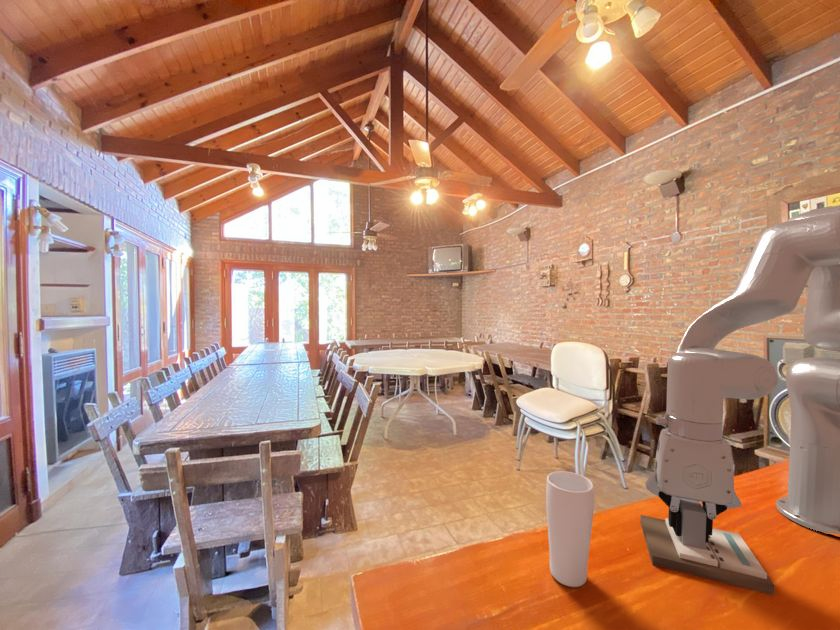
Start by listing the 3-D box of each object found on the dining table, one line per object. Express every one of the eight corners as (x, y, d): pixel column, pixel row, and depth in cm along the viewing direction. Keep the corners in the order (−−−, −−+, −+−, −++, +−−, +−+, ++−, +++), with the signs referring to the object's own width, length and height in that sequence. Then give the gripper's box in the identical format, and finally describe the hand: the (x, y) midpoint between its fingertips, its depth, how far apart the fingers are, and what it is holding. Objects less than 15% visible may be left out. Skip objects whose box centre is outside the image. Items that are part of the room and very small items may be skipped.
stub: (665, 522, 66) (666, 486, 66) (697, 529, 64) (698, 492, 64) (679, 557, 57) (680, 516, 57) (717, 566, 55) (719, 523, 55)
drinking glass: (570, 556, 60) (572, 467, 59) (602, 587, 53) (604, 488, 53) (535, 565, 58) (537, 474, 57) (564, 598, 51) (566, 496, 51)
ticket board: (640, 522, 69) (640, 510, 69) (739, 543, 63) (740, 530, 63) (652, 564, 58) (652, 550, 58) (774, 595, 52) (775, 579, 52)
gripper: (639, 427, 60) (637, 534, 61) (767, 443, 53) (762, 563, 54) (633, 414, 67) (630, 511, 67) (745, 427, 60) (741, 533, 61)
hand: (689, 533), depth 61 cm, fingers closed on stub, 3 cm apart
